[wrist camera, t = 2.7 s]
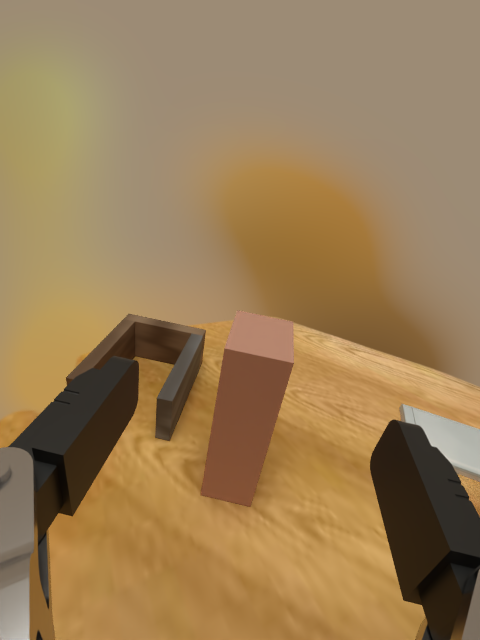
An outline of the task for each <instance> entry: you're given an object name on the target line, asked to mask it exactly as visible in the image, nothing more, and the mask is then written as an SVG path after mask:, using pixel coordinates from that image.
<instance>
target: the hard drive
mask: <svg viewBox="0 0 480 640" xmlns="http://www.w3.org/2000/svg"><path fill="white" fill-rule="evenodd" d="M400 415H401V421H402V422H406V423H411V424H415V425H419V426H421V427H422V428H423V430H424V432H425V434H426V436H427V438H428V440H429V442H430V444H431V446H433V447H437V448H438V449H439V450H440V452H441V453H442V454H443V455H444V456H445V457H446V458H447V459H448V460H449V462H450V463H451V464H452V466H453V467H454V469H455V471H456V473H457V474H460V475H463V476H465V477H468V478H471V479H473V480H476V481H479V482H480V429H477V428H474V427H471V426H468V425H465V424H462V423H459V422H456V421H453V420H450V419H447V418H444V417H441V416H438V415H435V414H432V413H429V412H426V411H423V410H420V409H417V408H414V407H410V406H407V405H404V404H402V405H401V406H400Z"/></svg>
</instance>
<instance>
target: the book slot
mask: <svg viewBox="0 0 480 640" xmlns="http://www.w3.org/2000/svg"><path fill="white" fill-rule="evenodd" d="M205 333H206V330H203V329H199V328H194V327H189V326H185V325H180V324H175V323H170V322H165V321H161V320H156V319H151V318H147V317H142V316H137V315H132V314H128V315H127V317H125V318H124V319H123V320H122V321H121V322H120V323H119V324H118V325H117V326H116V328H114V329H113V331H112V332H111V333H110V334H109V335H108V336H107V337H106V338H105V339H104V340H103V341H102V342H101V343H100V344H99V345H98V346H97V347H96V348H95V349H94V350H93V351H92V352H91V353H90V354H89V355H88V356H87V357H86V358H85V359H84V360H83V361H82V362H81V363H80V364H79V365H78V366H77V367H76V368H75V369H74V370H73V371H72V372H71V373H70V374H69V375H68V376H67V377H66V381H67V385H68V384H69V383H70V382H71V381H72V380H73V379H74V378H75V377H76V376H78V375H80V374H82V373H84V372H86V371H87V370H89V369H91V368H95V369H99V370H100V369H101V368H102V367H103V366H104V365H105V363H106V362H107V361H108V360H109V359H110V358H111V357H112V356H117V357H122V358H126V359H131V360H132V359H133V358H134V357H135V356H138V357H143V358H148V359H152V360H157V361H161V362H166V363H171V364H175V365H174V367H173V369H172V371H171V373H170V375H169V376H168V378H167V380H166V382H165V384H164V386H163V388H162V389H161V391H160V393H159V395H158V397H157V409H156V436H155V438H160V439H164V440H169V441H170V438H171V436H172V434H173V431H174V429H175V426H176V424H177V422H178V419H179V417H180V414H181V412H182V410H183V407H184V405H185V402H186V400H187V398H188V395H189V393H190V390H191V388H192V386H193V383H194V381H195V378H196V376H197V373H198V371H199V369H200V366H201V364H202V357H203V349H204V341H205Z"/></svg>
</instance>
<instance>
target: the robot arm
mask: <svg viewBox="0 0 480 640" xmlns="http://www.w3.org/2000/svg"><path fill="white" fill-rule="evenodd" d="M138 383H139V364H138V362H137V361H135V360H131V359H126V358H122V357H117V356H112V357H111V358H110V359H109V360H108V361H107V362H106V363H105V365H104V366H103V367H102V368H101V369H100V370H99V369H95V368H91V369H89V370H87V371H86V372H84V373H82V374H80V375H78V376H76V377H75V378H74V379H73V380H72V381H71V382H70V383H69V384H68V385H67V387H66V388H65V389H64V391H63V392H61V393H60V394H59V395H58V396H57V397H56V398H55V399H54V402H51V403H50V405H48V406H47V407H46V409H45V410H44V411H43V412H42V413H41V414H40V415H39V416H38V417H37V418H36V419H35V420H34V421H33V422H32V423H31V424H30V425H29V426H28V427H27V428H26V429H25V430H24V431H23V432H22V433H21V434H20V436H19V437H18V438H17V439H16V440H15V441H14V442H13V443H12V444H11V445H10V446H8V447H6V448H0V640H55V632H54V625H53V615H52V597H51V575H50V553H49V531H48V528H49V527H50V525H51V524H52V522H53V520H54V519H55V517H56V516H57V514H58V513H61V514H65V515H69V516H73V515H74V513H75V511H76V510H77V508H78V506H79V505H80V503H81V501H82V500H83V498H84V496H85V495H86V493H87V491H88V490H89V488H90V486H91V485H92V483H93V481H94V480H95V478H96V476H97V475H98V473H99V471H100V470H101V468H102V466H103V465H104V463H105V461H106V460H107V458H108V456H109V455H110V453H111V451H112V450H113V448H114V446H115V445H116V443H117V441H118V440H119V438H120V436H121V435H122V433H123V431H124V430H125V428H126V426H127V425H128V423H129V421H130V420H131V418H132V416H133V414H134V412H135V409H136V406H137V402H138ZM370 470H371V475H372V479H373V483H374V487H375V491H376V495H377V499H378V503H379V507H380V511H381V515H382V518H383V522H384V526H385V530H386V534H387V538H388V542H389V546H390V550H391V554H392V558H393V561H394V565H395V569H396V573H397V577H398V581H399V585H400V589H401V593H402V597H403V600H404V601H408V602H412V603H416V604H420V605H422V606H423V609H424V613H425V616H426V618H425V619H424V620H423V621H422V623H421V625H420V627H419V630H418V633H417V636H416V639H415V640H480V517H479V515H478V513H477V511H476V509H475V508H474V506H473V504H472V502H471V501H469V496H468V494H467V492H466V490H465V488H464V487H463V486H462V485H461V481H460V479H459V477H458V475H457V473H456V471H455V469H454V467H453V466H452V464H451V463H450V462H449V460H448V459H447V458H446V457H445V456H444V455H443V454H442V453H441V452H440V450H439V449H438V448H437V447H433V446H431V444H430V442H429V440H428V438H427V436H426V434H425V432H424V430H423V428H422V427H421V426H419V425H415V424H411V423H406V422H402V421H398V420H392V421H390V422H389V424H388V425H387V427H386V429H385V431H384V433H383V434H382V436H381V438H380V440H379V442H378V443H377V445H376V447H375V449H374V451H373V453H372V456H371V461H370Z"/></svg>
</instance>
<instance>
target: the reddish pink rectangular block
mask: <svg viewBox="0 0 480 640" xmlns="http://www.w3.org/2000/svg"><path fill="white" fill-rule="evenodd" d="M293 364H294V348H293V322H291V321H286V320H281V319H277V318H272V317H267V316H262V315H257V314H253V313H247V312H242V311H237V313H236V315H235V318H234V321H233V324H232V328H231V331H230V334H229V337H228V340H227V343H226V346H225V349H224V355H223V361H222V367H221V373H220V380H219V386H218V392H217V398H216V404H215V410H214V417H213V423H212V429H211V435H210V441H209V447H208V453H207V460H206V466H205V472H204V478H203V484H202V490H201V495H203V496H207V497H211V498H215V499H219V500H224V501H228V502H232V503H236V504H241V505H245V506H249V507H250V506H251V503H252V500H253V496H254V493H255V490H256V486H257V483H258V480H259V476H260V473H261V470H262V466H263V463H264V460H265V457H266V453H267V450H268V447H269V443H270V440H271V437H272V433H273V430H274V427H275V423H276V420H277V417H278V413H279V410H280V407H281V404H282V400H283V397H284V394H285V390H286V387H287V384H288V380H289V377H290V374H291V370H292V367H293Z"/></svg>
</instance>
